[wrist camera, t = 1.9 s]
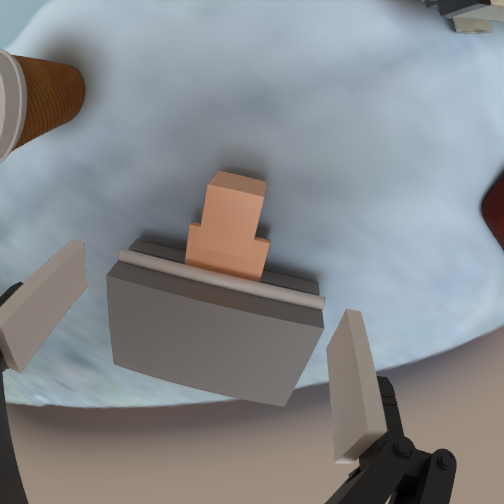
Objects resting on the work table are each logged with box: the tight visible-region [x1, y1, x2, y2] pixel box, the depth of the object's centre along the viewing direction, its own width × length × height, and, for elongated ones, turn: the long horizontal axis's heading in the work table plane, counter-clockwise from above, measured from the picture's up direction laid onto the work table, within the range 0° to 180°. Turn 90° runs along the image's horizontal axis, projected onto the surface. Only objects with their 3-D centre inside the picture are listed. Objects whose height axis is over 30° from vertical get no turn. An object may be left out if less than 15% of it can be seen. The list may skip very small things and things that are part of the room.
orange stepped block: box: [184, 170, 270, 282], centre depth 28 cm, size 18×7×4 cm, turn 168°
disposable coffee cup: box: [0, 49, 85, 163], centre depth 20 cm, size 10×10×12 cm
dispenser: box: [106, 240, 325, 407], centre depth 32 cm, size 13×19×7 cm
